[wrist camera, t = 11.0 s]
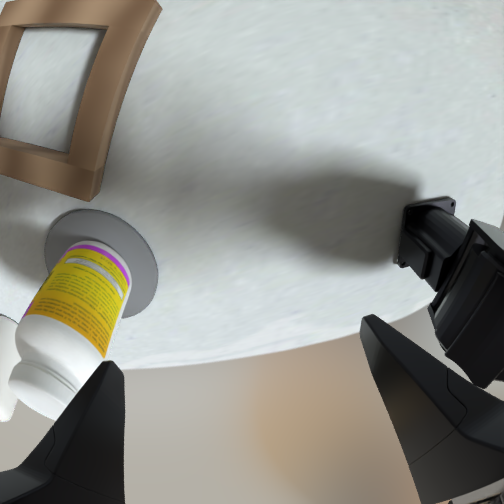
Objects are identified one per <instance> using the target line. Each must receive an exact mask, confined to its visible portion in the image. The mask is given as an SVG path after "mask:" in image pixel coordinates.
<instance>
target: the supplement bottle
mask: <svg viewBox="0 0 504 504" xmlns="http://www.w3.org/2000/svg"><path fill="white" fill-rule="evenodd" d="M131 287H132V278H131V273H130V270H129V268H128V266H127V264H126V262H125V261H124V259H123V258H122V257H121V256H120V255H119V254H118V253H117V252H116V251H115V250H113V249H112V248H111V247H109V246H107V245H105V244H103V243H100V242H96V241H81V242H78V243H75V244H74V245H72V246H71V247H70V248H69V249H68V250H67V251H66V252H65V253H64V255H63V256H62V257H61V259H60V260H59V261H58V263H57V264H56V266H55V267H54V268H53V270H52V271H51V273H50V274H49V276H48V277H47V279H46V280H45V282H44V283H43V285H42V286H41V288H40V289H39V291H38V292H37V294H36V295H35V297H34V299H33V300H32V302H31V304H30V305H29V307H28V309H27V310H26V312H25V314H24V315H23V317H22V319H21V320H20V322H19V324H18V326H17V328H16V332H15V344H16V348H17V351H18V353H19V355H20V357H21V361H20V362H19V363H18V364H17V365H15V366H14V368H13V370H12V373H11V375H10V378H9V381H8V385H9V387H10V389H11V390H12V392H13V393H14V394H15V395H16V396H17V397H18V398H19V399H20V400H21V401H22V402H23V403H25V404H26V405H27V406H29V407H30V408H32V409H33V410H35V411H36V412H38V413H40V414H42V415H44V416H46V417H48V418H50V419H53V420H57V419H58V418H59V416H60V415H61V414H62V412H63V411H64V410H65V408H66V407H67V406H68V404H69V403H70V402H71V400H72V399H73V398H74V396H75V395H76V394H77V393H78V391H79V390H80V389H81V387H82V386H83V385H84V384H85V382H86V381H87V380H88V378H89V377H90V376H91V375H92V373H93V372H94V371H95V370H96V368H97V367H98V366H99V365H100V363H101V362H102V361H108V360H109V357H110V353H111V350H112V346H113V343H114V340H115V336H116V333H117V330H118V327H119V323H120V320H121V317H122V314H123V311H124V308H125V305H126V303H127V300H128V297H129V294H130V291H131Z"/></svg>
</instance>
